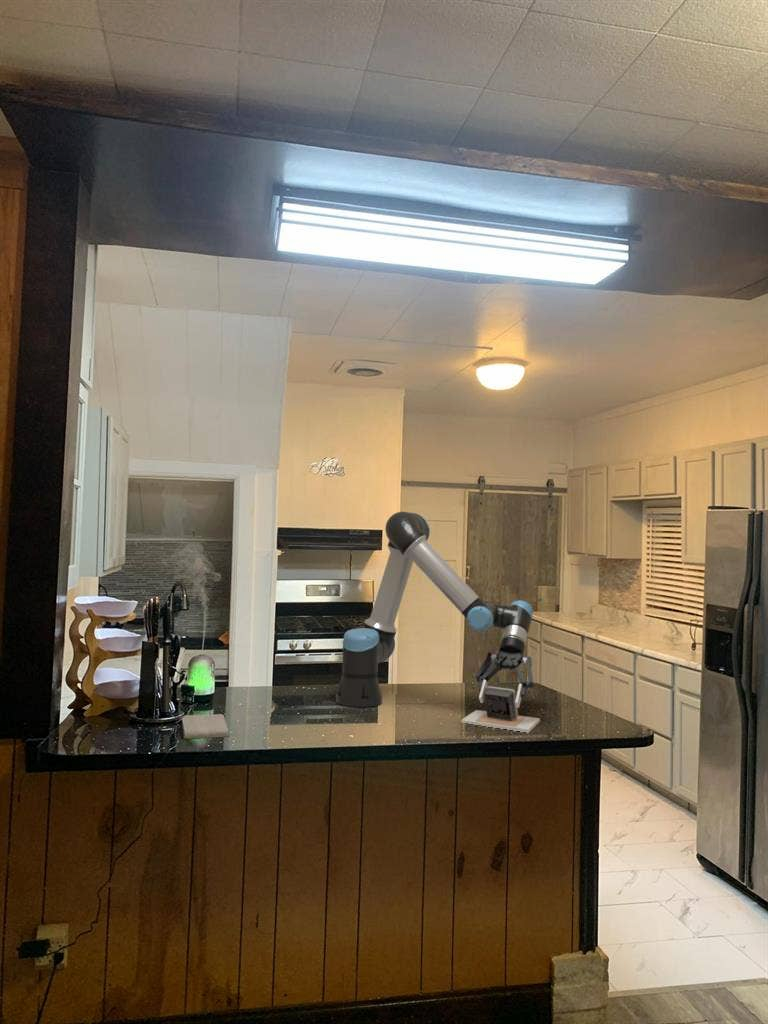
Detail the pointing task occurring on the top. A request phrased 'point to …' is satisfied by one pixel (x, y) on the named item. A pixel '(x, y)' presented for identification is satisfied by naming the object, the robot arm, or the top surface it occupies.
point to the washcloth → (204, 726)
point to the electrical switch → (501, 703)
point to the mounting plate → (501, 722)
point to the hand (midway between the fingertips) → (498, 702)
